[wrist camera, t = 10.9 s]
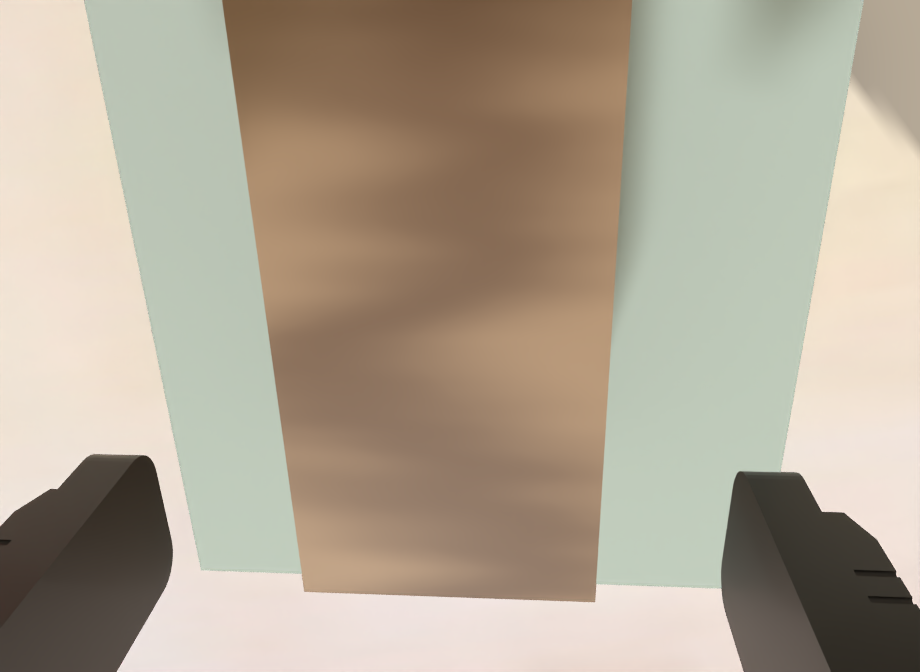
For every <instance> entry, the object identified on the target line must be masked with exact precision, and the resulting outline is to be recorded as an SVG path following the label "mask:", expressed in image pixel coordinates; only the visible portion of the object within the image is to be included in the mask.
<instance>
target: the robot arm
mask: <svg viewBox="0 0 920 672" xmlns="http://www.w3.org/2000/svg"><path fill="white" fill-rule="evenodd" d="M172 559H173V548H172V540H171V536H170V531H169V527H168V522H167V518H166V513H165V509H164V504H163V500H162V495H161V491H160V486H159V482H158V477H157V472H156V469H155V466H154V463H153V462H152V460H151V459H150V458H149V457H147V456H144V455H103V454H93V455H90V456H88V457H87V458H86V459H85V460H83V462H82V463H81V464H80V465H79V466H78V467H77V468H76V469H75V470H74V472H73V473H72V474H71V475H70V476H69V477H68V478H67V479H66V480H65V482H64V483H63V484H62V485H61V486H60V487H59V488H58V489H50V490H48V491H47V492H45V493H43V494H42V495H40V496H39V497H37V498H35V499H34V500H32V501H31V502H29V503H28V504H26V505H24V506H23V507H21V508H20V509H18V510H16V511H15V512H14V513H13V514H12V515H11V516H10V517H9V518H8V519H7V520H6V521H5V522H4V523H3V524H2V525H1V526H0V672H117V670H118V668H119V667H120V665H121V663H122V661H123V660H124V658H125V656H126V655H127V653H128V651H129V649H130V648H131V646H132V644H133V643H134V641H135V639H136V637H137V636H138V634H139V632H140V631H141V629H142V627H143V625H144V624H145V622H146V620H147V618H148V617H149V615H150V613H151V612H152V610H153V608H154V606H155V605H156V603H157V601H158V600H159V598H160V596H161V594H162V593H163V591H164V589H165V587H166V585H167V582H168V579H169V576H170V572H171V567H172ZM721 588H722V597H723V604H724V608H725V612H726V616H727V619H728V622H729V625H730V629H731V632H732V635H733V638H734V641H735V645H736V648H737V651H738V654H739V658H740V661H741V664H742V667H743V671H744V672H920V609H919V608H918V606H917V604H913V602H912V596H911V595H910V593H909V591H908V590H907V588H906V586H905V585H904V583H903V582H902V580H901V578H900V577H897V576H896V570H895V568H894V567H893V565H892V564H891V562H890V560H889V559H888V557H887V555H886V554H885V552H884V551H883V549H882V547H881V546H880V544H879V542H878V541H877V539H875V538H874V537H873V536H872V535H870V534H869V533H868V532H867V531H866V530H864V529H863V528H862V527H861V526H859V525H858V524H857V523H856V522H854V521H853V520H852V519H851V518H850V517H848V516H847V515H846V514H845V513H839V512H822V511H821V510H820V508H819V506H818V504H817V502H816V500H815V499H814V497H813V495H812V493H811V491H810V489H809V488H808V486H807V484H806V482H805V480H804V479H803V477H802V476H801V475H800V474H799V473H795V472H753V471H739V472H738V473H737V475H736V477H735V479H734V483H733V489H732V496H731V502H730V509H729V516H728V523H727V530H726V536H725V543H724V550H723V557H722V565H721Z"/></svg>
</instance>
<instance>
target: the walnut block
mask: <svg viewBox="0 0 920 672" xmlns="http://www.w3.org/2000/svg"><path fill="white" fill-rule="evenodd" d="M222 4H223V11H224V18H225V26H226V33H227V40H228V47H229V54H230V62H231V69H232V76H233V83H234V90H235V97H236V105H237V112H238V119H239V126H240V133H241V141H242V148H243V155H244V162H245V169H246V176H247V184H248V191H249V198H250V205H251V212H252V220H253V227H254V234H255V241H256V248H257V255H258V263H259V270H260V277H261V284H262V291H263V298H264V306H265V313H266V320H267V327H268V334H269V342H270V349H271V356H272V363H273V370H274V377H275V385H276V392H277V399H278V406H279V413H280V421H281V428H282V435H283V442H284V449H285V456H286V464H287V471H288V478H289V485H290V492H291V500H292V507H293V514H294V521H295V528H296V535H297V543H298V550H299V557H300V564H301V571H302V579H303V586H304V592H327V593H355V594H382V595H410V596H438V597H466V598H494V599H522V600H549V601H577V602H595V595H596V579H597V562H598V546H599V530H600V514H601V498H602V481H603V465H604V449H605V433H606V417H607V400H608V384H609V368H610V352H611V335H612V319H613V303H614V287H615V271H616V254H617V238H618V222H619V206H620V190H621V173H622V157H623V141H624V125H625V109H626V92H627V76H628V60H629V44H630V28H631V11H632V0H222Z"/></svg>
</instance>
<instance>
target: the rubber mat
mask: <svg viewBox="0 0 920 672" xmlns="http://www.w3.org/2000/svg"><path fill="white" fill-rule="evenodd" d="M863 2H864V0H632V11H631V28H630V44H629V60H628V76H627V92H626V109H625V125H624V141H623V157H622V173H621V190H620V206H619V222H618V238H617V254H616V271H615V287H614V303H613V319H612V335H611V352H610V368H609V384H608V400H607V417H606V433H605V449H604V465H603V481H602V498H601V514H600V530H599V546H598V562H597V579H596V584H607V585H636V586H664V587H692V588H721V565H722V557H723V550H724V543H725V536H726V530H727V523H728V516H729V509H730V502H731V496H732V489H733V483H734V479H735V477H736V475H737V473H738V472H739V471H753V472H781V466H782V460H783V455H784V449H785V443H786V438H787V432H788V426H789V421H790V415H791V409H792V404H793V398H794V392H795V387H796V381H797V375H798V370H799V364H800V358H801V353H802V347H803V341H804V336H805V330H806V324H807V319H808V313H809V308H810V302H811V296H812V291H813V285H814V279H815V274H816V268H817V262H818V257H819V251H820V245H821V240H822V234H823V228H824V223H825V217H826V211H827V206H828V200H829V194H830V189H831V183H832V177H833V172H834V166H835V160H836V155H837V149H838V143H839V138H840V132H841V126H842V121H843V115H844V109H845V104H846V98H847V92H848V87H849V81H850V75H851V70H852V64H853V58H854V53H855V46H856V41H857V36H858V30H859V24H860V19H861V12H862V7H863ZM84 3H85V8H86V12H87V17H88V22H89V27H90V32H91V37H92V42H93V47H94V51H95V56H96V61H97V66H98V71H99V76H100V81H101V85H102V90H103V95H104V100H105V105H106V110H107V115H108V120H109V124H110V129H111V134H112V139H113V144H114V149H115V154H116V158H117V163H118V168H119V173H120V178H121V183H122V188H123V192H124V197H125V202H126V207H127V212H128V217H129V222H130V227H131V231H132V236H133V241H134V246H135V251H136V256H137V261H138V265H139V270H140V275H141V280H142V285H143V290H144V295H145V299H146V304H147V309H148V314H149V319H150V324H151V329H152V334H153V338H154V343H155V348H156V353H157V358H158V363H159V368H160V372H161V377H162V382H163V387H164V392H165V397H166V402H167V407H168V411H169V416H170V421H171V426H172V431H173V436H174V441H175V445H176V450H177V455H178V460H179V465H180V470H181V475H182V479H183V484H184V489H185V494H186V499H187V504H188V509H189V514H190V518H191V523H192V528H193V533H194V538H195V543H196V548H197V552H198V557H199V562H200V567H201V570H210V571H239V572H267V573H295V574H302V571H301V564H300V557H299V550H298V543H297V535H296V528H295V521H294V514H293V507H292V500H291V492H290V485H289V478H288V471H287V464H286V456H285V449H284V442H283V435H282V428H281V421H280V413H279V406H278V399H277V392H276V385H275V377H274V370H273V363H272V356H271V349H270V342H269V334H268V327H267V320H266V313H265V306H264V298H263V291H262V284H261V277H260V270H259V263H258V255H257V248H256V241H255V234H254V227H253V220H252V212H251V205H250V198H249V191H248V184H247V176H246V169H245V162H244V155H243V148H242V141H241V133H240V126H239V119H238V112H237V105H236V97H235V90H234V83H233V76H232V69H231V62H230V54H229V47H228V40H227V33H226V26H225V18H224V11H223V4H222V0H84ZM721 589H722V588H721Z"/></svg>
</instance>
